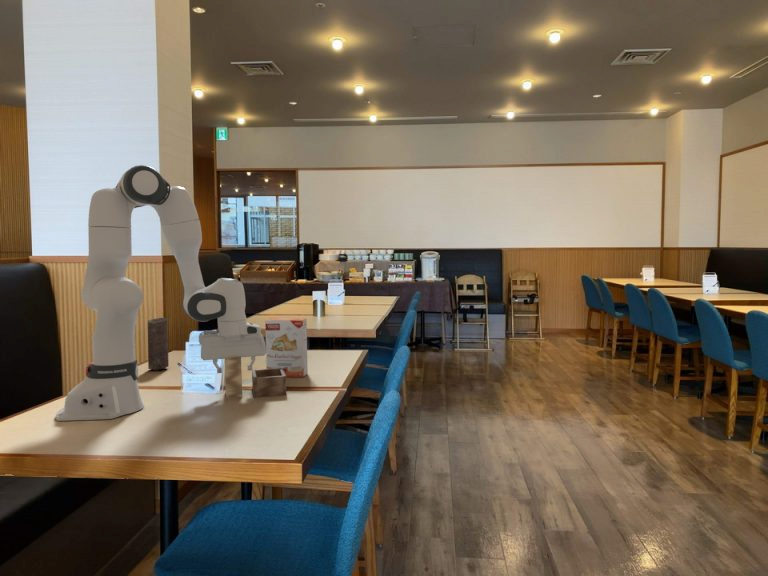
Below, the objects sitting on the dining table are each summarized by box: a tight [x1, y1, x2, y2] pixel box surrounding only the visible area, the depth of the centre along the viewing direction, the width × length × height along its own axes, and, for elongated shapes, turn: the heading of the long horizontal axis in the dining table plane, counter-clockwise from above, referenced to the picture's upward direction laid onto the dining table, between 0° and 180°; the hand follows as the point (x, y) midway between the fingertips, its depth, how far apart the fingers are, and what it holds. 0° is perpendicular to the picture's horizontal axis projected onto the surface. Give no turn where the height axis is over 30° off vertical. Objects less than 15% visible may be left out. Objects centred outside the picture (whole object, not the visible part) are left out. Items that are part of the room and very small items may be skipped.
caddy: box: [251, 368, 287, 398], centre depth 182 cm, size 10×13×6 cm
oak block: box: [224, 357, 243, 399], centre depth 179 cm, size 5×8×12 cm, turn 15°
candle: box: [147, 317, 170, 371], centre depth 218 cm, size 8×7×20 cm
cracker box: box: [265, 317, 309, 378], centre depth 204 cm, size 14×6×21 cm, turn 83°
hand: (234, 371), depth 179 cm, fingers open, 8 cm apart
